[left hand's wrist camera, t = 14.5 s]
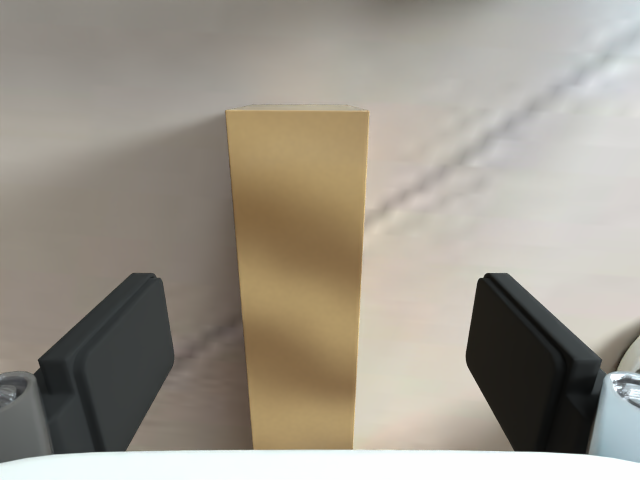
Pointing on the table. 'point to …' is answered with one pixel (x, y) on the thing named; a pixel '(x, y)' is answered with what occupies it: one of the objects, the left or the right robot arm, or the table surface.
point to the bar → (299, 267)
